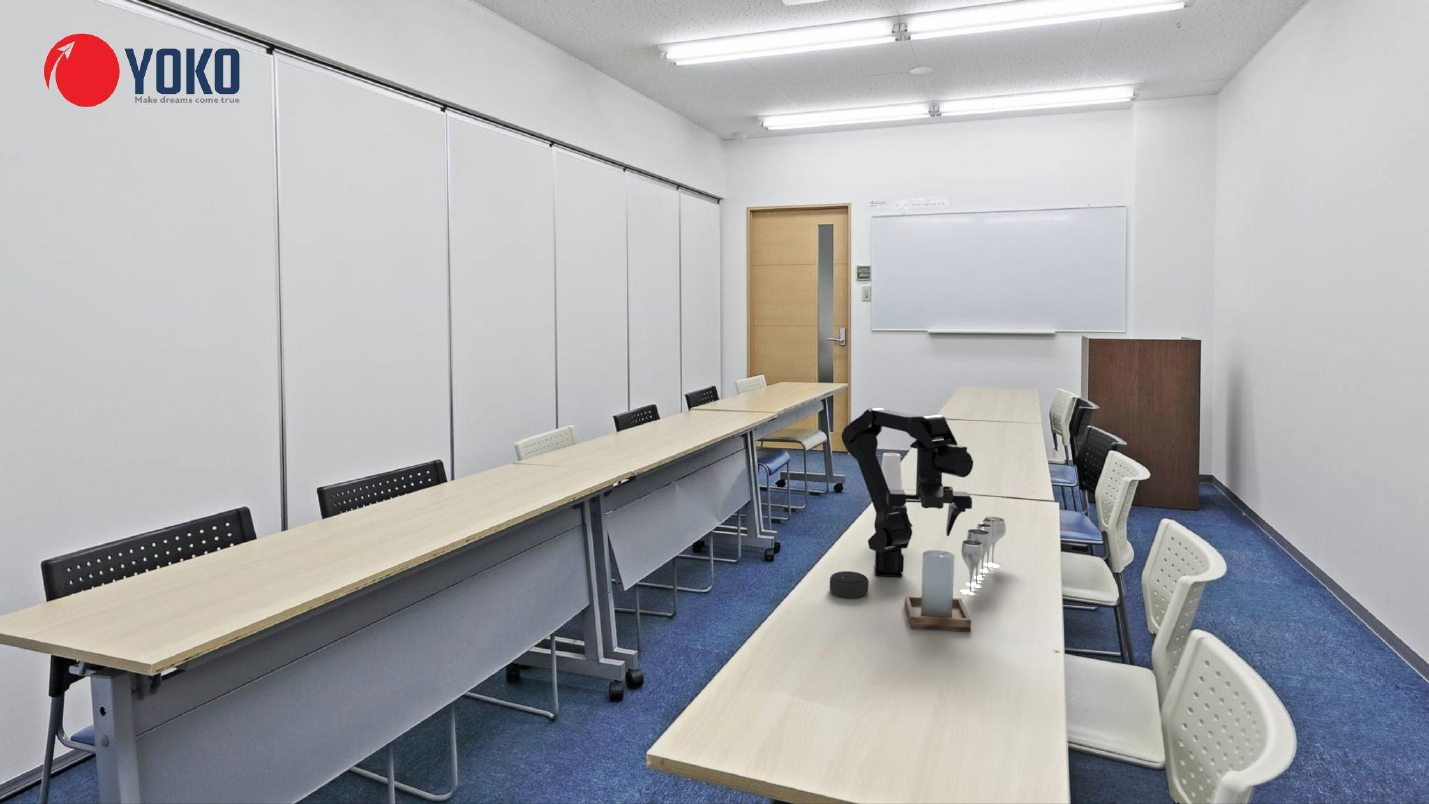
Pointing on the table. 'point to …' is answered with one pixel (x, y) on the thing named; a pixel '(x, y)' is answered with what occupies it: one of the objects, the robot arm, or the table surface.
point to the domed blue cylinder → (937, 584)
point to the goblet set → (981, 550)
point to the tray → (955, 623)
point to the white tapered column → (892, 470)
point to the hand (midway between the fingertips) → (927, 534)
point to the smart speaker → (849, 584)
